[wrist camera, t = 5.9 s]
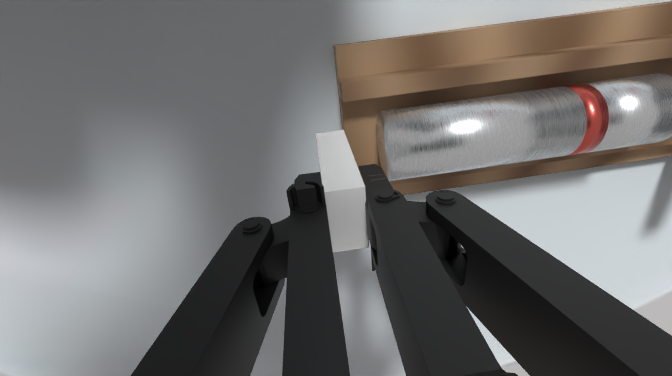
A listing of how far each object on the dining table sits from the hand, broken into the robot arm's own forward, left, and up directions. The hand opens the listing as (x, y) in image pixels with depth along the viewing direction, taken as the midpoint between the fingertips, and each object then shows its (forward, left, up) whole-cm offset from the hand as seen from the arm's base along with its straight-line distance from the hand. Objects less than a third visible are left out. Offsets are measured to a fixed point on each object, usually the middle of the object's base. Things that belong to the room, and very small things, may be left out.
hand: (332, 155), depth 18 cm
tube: (+11, 0, -3) cm, 11 cm away
